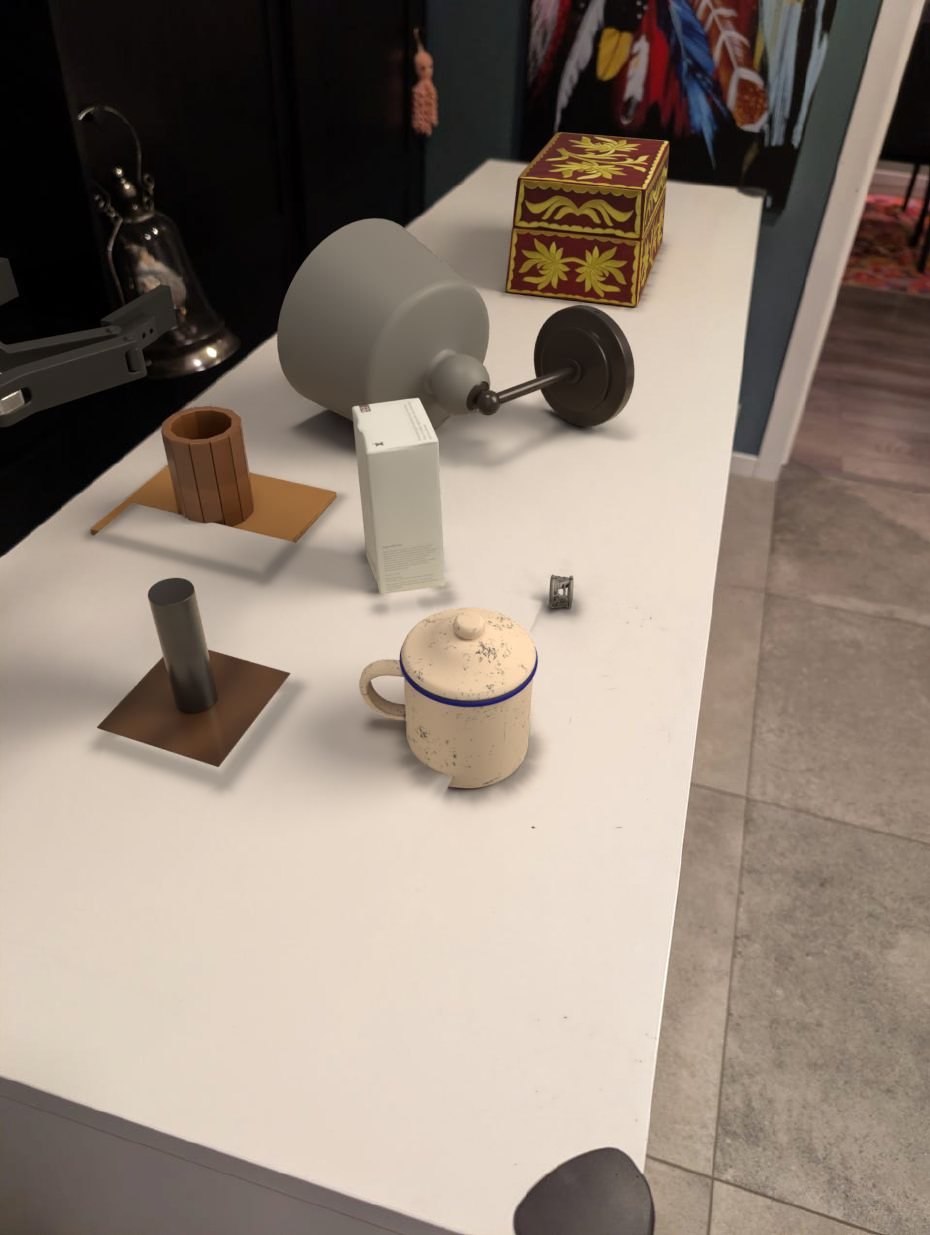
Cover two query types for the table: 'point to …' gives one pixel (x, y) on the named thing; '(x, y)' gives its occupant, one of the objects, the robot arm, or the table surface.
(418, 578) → the cosmetic box
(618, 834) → the table surface
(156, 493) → the wooden board
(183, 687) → the ring holder
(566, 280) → the decorative box
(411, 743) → the teacup with lid
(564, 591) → the decorative ring
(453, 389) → the light fixture
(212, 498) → the brown wooden cylinder
